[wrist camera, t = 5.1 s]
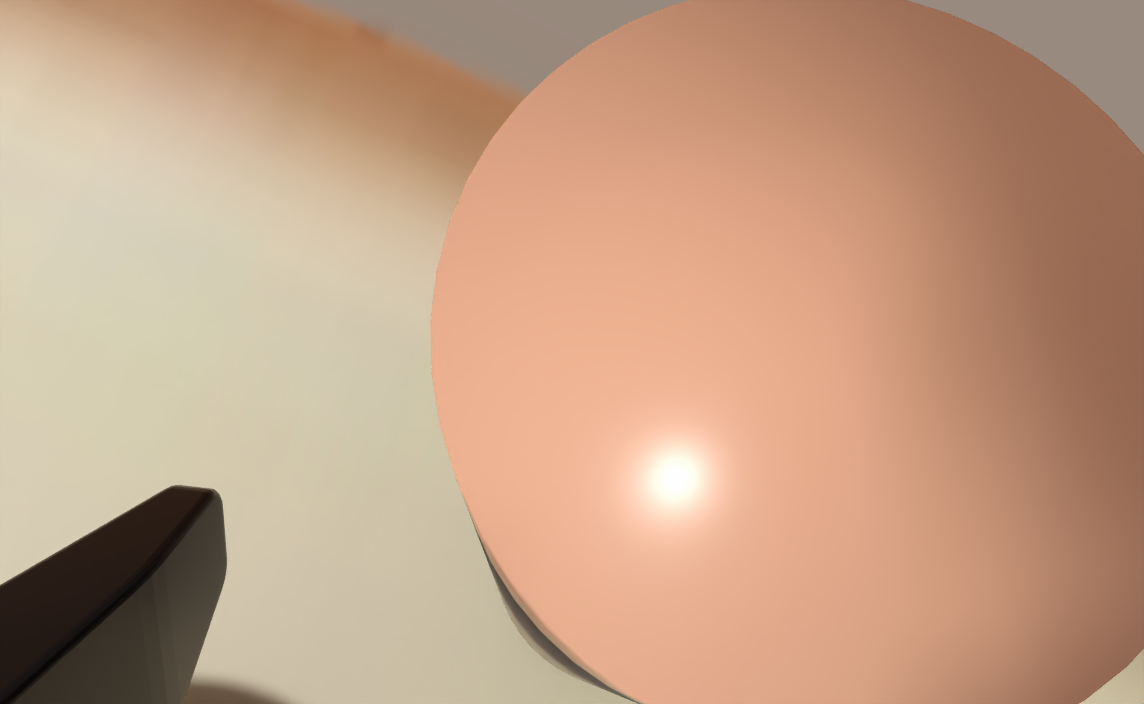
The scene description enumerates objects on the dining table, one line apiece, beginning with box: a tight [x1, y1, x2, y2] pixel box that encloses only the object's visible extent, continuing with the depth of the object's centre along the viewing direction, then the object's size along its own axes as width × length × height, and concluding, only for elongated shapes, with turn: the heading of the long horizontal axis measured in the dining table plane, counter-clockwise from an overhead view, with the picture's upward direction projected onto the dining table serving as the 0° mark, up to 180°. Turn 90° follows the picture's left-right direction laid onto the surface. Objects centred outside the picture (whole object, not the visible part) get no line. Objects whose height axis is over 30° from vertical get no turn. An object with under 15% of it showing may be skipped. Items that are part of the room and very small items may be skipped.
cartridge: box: [431, 0, 1144, 704], centre depth 12 cm, size 5×5×13 cm
